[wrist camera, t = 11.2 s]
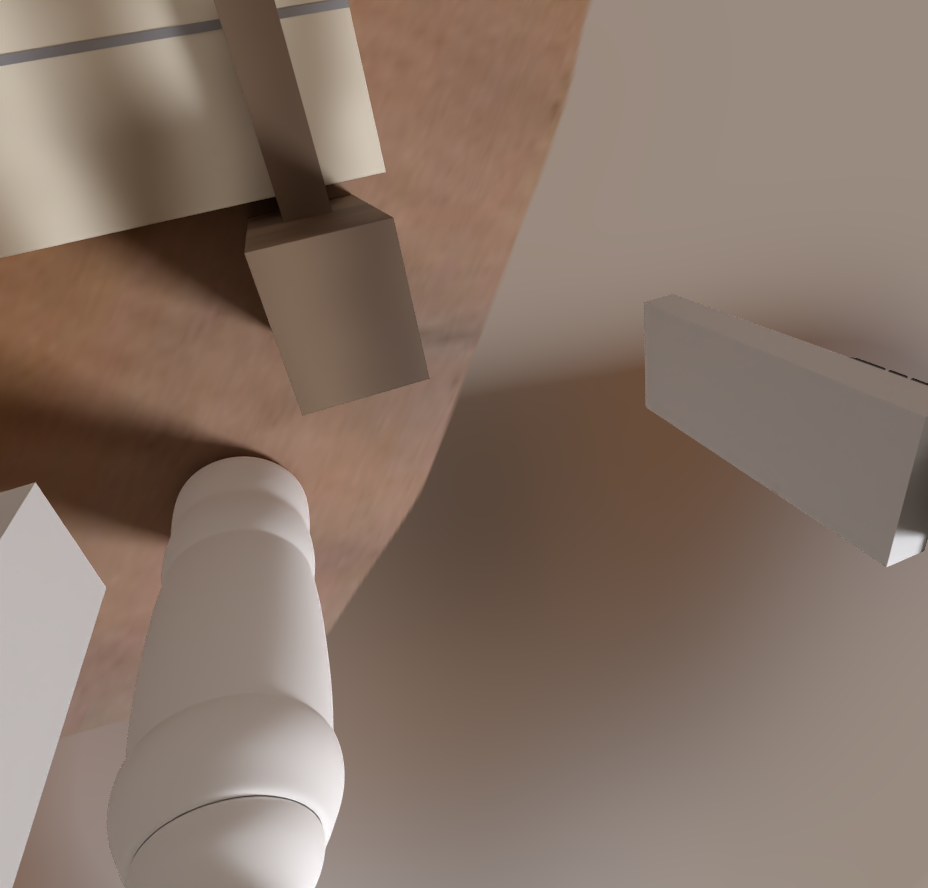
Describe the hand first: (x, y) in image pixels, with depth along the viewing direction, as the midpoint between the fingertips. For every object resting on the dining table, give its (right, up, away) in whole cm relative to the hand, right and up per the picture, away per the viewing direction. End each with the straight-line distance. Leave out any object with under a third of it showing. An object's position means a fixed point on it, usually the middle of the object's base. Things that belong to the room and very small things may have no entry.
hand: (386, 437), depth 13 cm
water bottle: (-11, -4, +21) cm, 24 cm away
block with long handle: (-6, +12, +14) cm, 20 cm away
